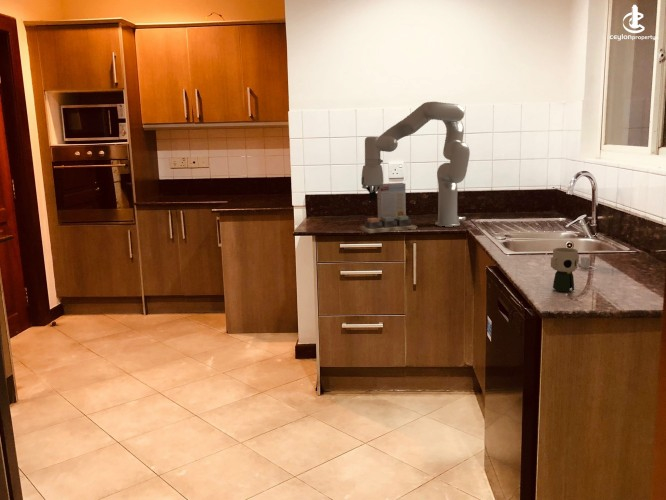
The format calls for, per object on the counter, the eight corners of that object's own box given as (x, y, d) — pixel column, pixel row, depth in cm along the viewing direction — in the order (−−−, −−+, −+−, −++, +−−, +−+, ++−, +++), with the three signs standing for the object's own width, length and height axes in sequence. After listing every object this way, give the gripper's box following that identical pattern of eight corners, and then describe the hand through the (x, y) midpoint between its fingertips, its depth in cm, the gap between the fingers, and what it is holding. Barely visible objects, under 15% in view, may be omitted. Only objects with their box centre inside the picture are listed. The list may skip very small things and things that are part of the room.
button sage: (404, 221, 318) (404, 215, 317) (408, 222, 313) (408, 216, 313) (396, 221, 316) (396, 215, 315) (400, 223, 312) (400, 217, 311)
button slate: (390, 222, 315) (390, 216, 314) (394, 223, 311) (394, 217, 310) (382, 223, 313) (382, 217, 313) (386, 224, 309) (385, 218, 309)
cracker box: (401, 221, 336) (401, 182, 332) (406, 223, 331) (406, 183, 326) (377, 223, 333) (376, 183, 329) (381, 224, 327) (380, 184, 323)
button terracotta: (375, 223, 312) (375, 217, 312) (379, 224, 308) (379, 218, 308) (367, 224, 311) (367, 218, 310) (371, 225, 307) (371, 219, 306)
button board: (406, 225, 323) (406, 216, 322) (417, 228, 311) (417, 220, 311) (359, 229, 314) (359, 220, 313) (369, 233, 303) (368, 224, 302)
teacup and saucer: (577, 265, 229) (578, 254, 229) (600, 268, 224) (601, 256, 224) (569, 269, 223) (570, 258, 222) (592, 272, 218) (593, 261, 217)
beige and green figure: (558, 295, 189) (560, 253, 187) (541, 290, 196) (543, 249, 193) (585, 291, 194) (587, 249, 191) (568, 285, 200) (570, 246, 198)
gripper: (383, 161, 309) (383, 198, 313) (355, 162, 304) (355, 200, 308) (389, 162, 302) (389, 200, 306) (361, 163, 297) (361, 202, 301)
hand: (372, 200), depth 307 cm, fingers closed
